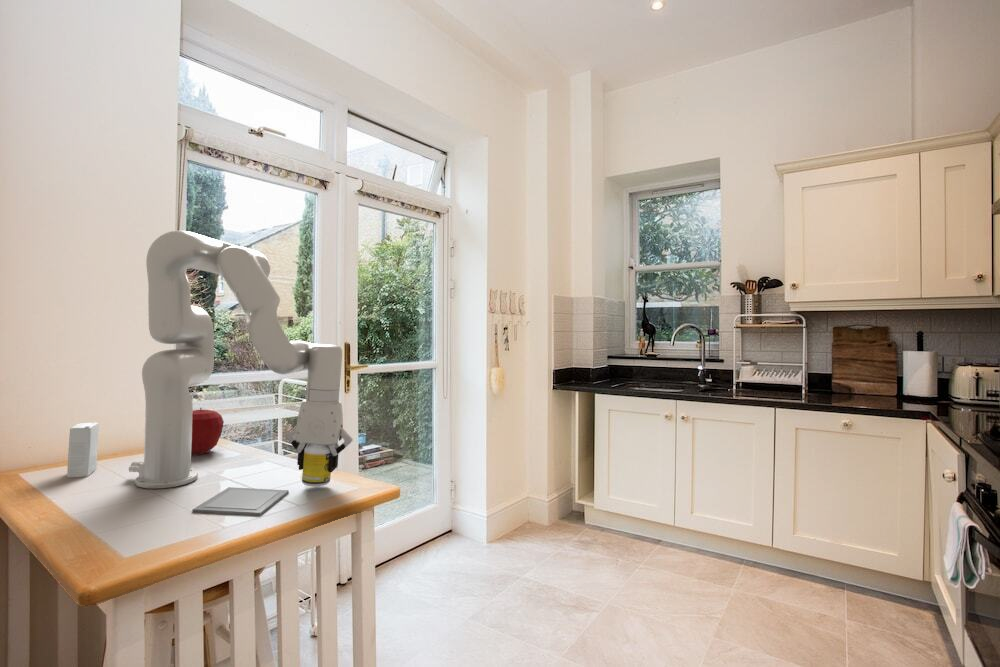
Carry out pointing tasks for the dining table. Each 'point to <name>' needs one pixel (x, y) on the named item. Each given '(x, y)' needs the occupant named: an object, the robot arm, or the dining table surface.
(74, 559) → the dining table surface
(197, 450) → the apple
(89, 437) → the skincare box
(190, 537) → the dining table surface
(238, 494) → the coaster
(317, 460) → the pill bottle
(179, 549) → the dining table surface
